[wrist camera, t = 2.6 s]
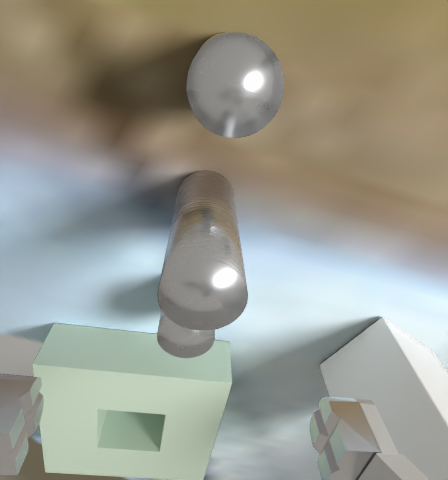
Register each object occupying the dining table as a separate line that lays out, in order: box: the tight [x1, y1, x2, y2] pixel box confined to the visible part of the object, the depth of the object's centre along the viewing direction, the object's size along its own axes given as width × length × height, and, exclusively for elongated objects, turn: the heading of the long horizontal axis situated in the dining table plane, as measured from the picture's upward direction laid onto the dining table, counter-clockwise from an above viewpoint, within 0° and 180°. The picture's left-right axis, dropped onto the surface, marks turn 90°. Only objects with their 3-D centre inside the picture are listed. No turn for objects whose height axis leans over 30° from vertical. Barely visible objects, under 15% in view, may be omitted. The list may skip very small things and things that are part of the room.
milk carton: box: [320, 317, 448, 480], centre depth 23 cm, size 7×7×19 cm
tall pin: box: [158, 171, 248, 331], centre depth 19 cm, size 4×4×10 cm
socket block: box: [32, 323, 232, 480], centre depth 30 cm, size 14×14×4 cm
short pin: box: [157, 310, 215, 358], centre depth 24 cm, size 4×4×5 cm
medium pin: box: [187, 32, 284, 138], centre depth 16 cm, size 4×4×7 cm
